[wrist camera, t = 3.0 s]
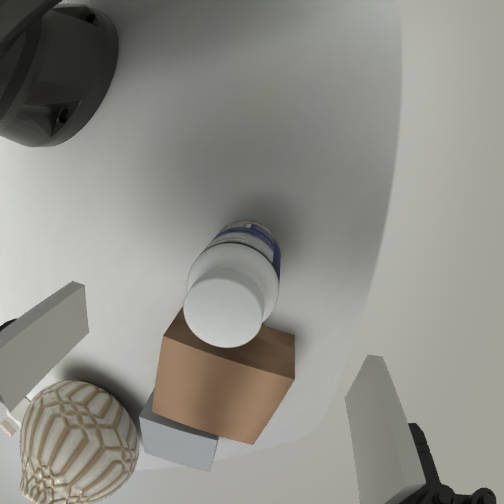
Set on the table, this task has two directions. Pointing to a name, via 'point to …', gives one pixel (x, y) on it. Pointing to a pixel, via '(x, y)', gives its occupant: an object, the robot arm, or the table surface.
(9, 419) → the pepper shaker
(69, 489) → the vase
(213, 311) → the pill bottle
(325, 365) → the table surface
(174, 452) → the slate block
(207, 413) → the walnut block
